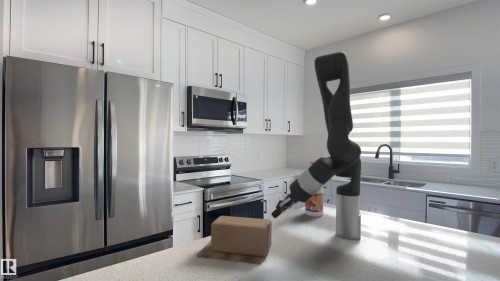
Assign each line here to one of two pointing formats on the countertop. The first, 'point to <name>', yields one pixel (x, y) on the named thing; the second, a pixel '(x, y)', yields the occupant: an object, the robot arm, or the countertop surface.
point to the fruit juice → (315, 203)
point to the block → (241, 235)
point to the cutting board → (228, 256)
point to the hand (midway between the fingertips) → (273, 215)
